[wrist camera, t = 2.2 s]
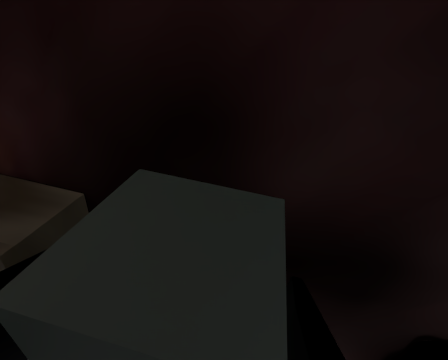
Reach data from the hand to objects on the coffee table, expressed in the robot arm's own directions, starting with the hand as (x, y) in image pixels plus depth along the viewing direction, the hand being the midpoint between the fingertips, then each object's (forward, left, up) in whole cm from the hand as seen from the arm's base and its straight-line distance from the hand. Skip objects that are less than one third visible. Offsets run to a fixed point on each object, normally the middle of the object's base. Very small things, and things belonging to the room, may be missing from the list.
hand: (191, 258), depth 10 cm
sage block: (0, 0, -1) cm, 1 cm away
